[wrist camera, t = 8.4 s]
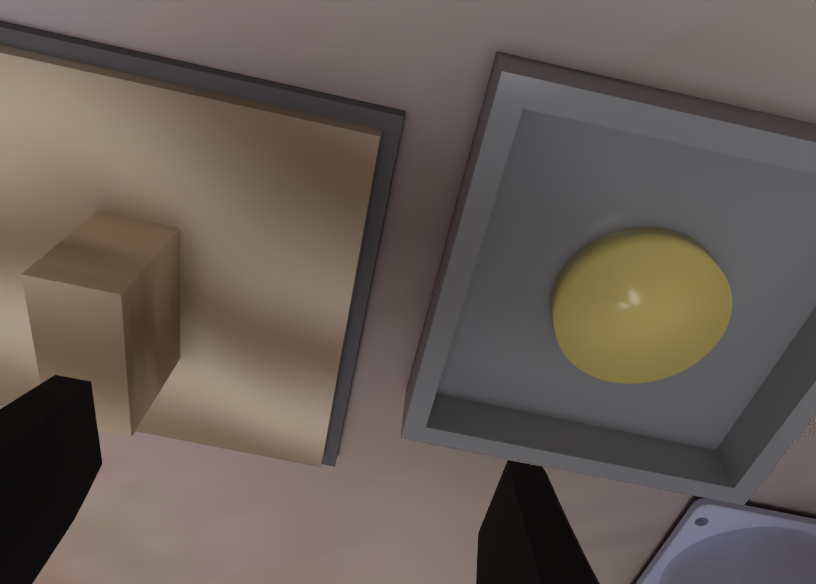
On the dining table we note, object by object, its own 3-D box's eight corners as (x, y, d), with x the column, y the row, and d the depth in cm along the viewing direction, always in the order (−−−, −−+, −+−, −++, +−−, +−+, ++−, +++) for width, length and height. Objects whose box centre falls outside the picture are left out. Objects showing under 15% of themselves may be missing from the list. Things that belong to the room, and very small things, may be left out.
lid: (324, 454, 23) (299, 552, 20) (-17, 388, 23) (-106, 477, 19) (382, 129, 16) (361, 190, 13) (-109, 20, 16) (-276, 52, 12)
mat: (336, 456, 24) (334, 466, 23) (-19, 387, 23) (-28, 396, 23) (405, 111, 16) (403, 116, 16) (-119, -6, 16) (-134, -3, 15)
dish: (720, 456, 22) (743, 505, 21) (405, 393, 22) (400, 438, 20) (935, 152, 16) (997, 183, 14) (496, 51, 15) (501, 70, 14)
